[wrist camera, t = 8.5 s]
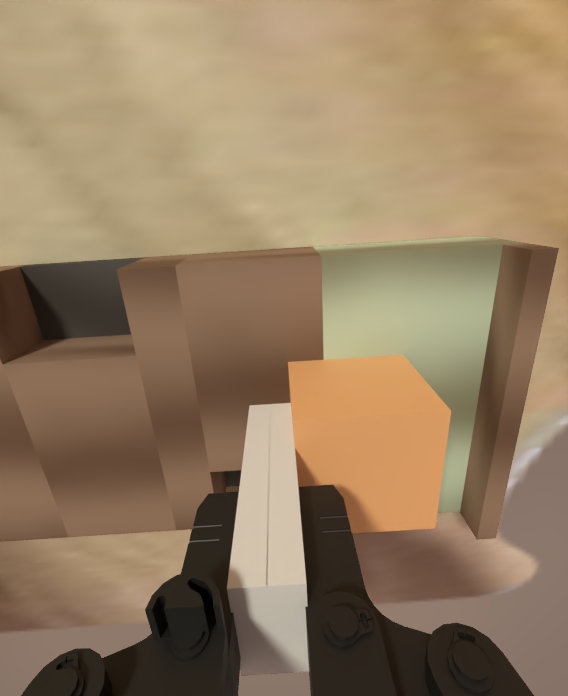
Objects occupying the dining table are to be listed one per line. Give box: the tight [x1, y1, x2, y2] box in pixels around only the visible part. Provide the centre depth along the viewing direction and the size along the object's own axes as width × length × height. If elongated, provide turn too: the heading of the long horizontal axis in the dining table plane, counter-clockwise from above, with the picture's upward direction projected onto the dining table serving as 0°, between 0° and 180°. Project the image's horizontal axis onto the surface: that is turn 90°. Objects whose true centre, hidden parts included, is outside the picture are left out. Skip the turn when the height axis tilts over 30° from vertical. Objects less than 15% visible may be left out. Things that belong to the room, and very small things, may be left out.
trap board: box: [0, 236, 559, 542], centre depth 15 cm, size 12×26×4 cm, turn 93°
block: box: [288, 355, 451, 534], centre depth 13 cm, size 4×4×4 cm
